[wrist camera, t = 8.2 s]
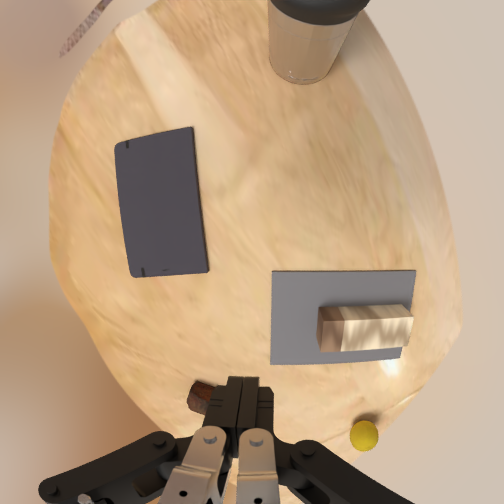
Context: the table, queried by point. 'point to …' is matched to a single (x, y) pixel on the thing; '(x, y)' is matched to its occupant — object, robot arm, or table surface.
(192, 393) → the brick
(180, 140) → the notebook
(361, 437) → the lemon
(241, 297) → the table surface
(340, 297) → the rubber mat
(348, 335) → the tall block
